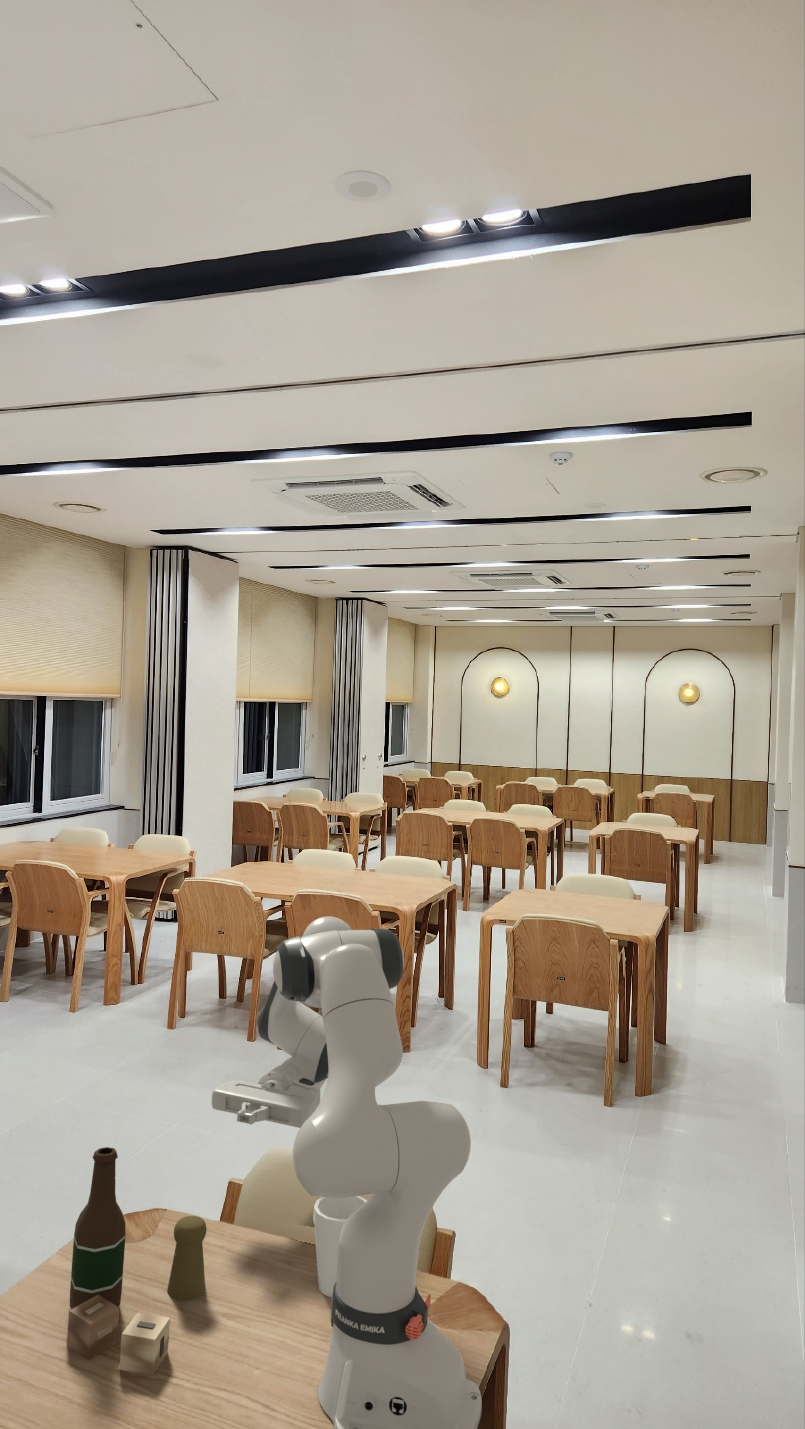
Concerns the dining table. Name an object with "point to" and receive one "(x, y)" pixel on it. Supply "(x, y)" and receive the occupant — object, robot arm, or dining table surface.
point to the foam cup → (331, 1235)
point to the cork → (188, 1259)
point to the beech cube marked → (144, 1343)
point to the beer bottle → (99, 1238)
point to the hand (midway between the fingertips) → (244, 1118)
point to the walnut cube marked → (93, 1326)
